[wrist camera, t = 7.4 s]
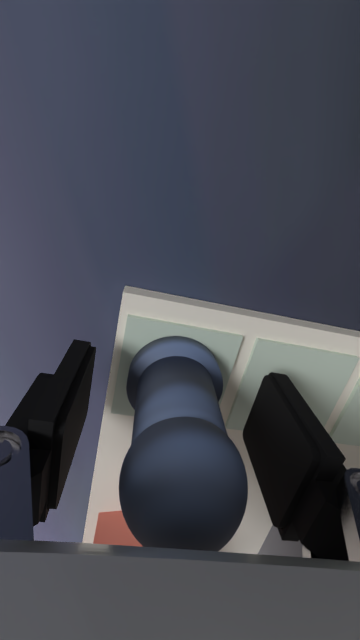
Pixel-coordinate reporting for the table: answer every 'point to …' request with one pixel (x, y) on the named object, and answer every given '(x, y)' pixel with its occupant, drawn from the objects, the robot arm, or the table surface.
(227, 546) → the board
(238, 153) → the table surface
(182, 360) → the pawn
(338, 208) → the table surface
